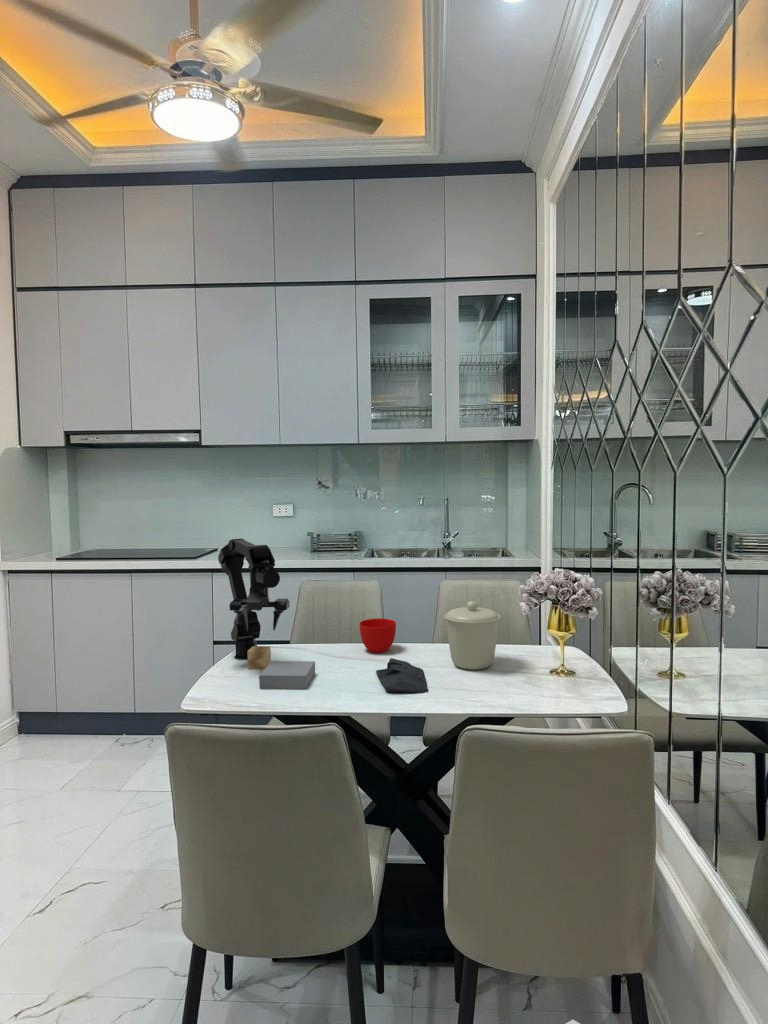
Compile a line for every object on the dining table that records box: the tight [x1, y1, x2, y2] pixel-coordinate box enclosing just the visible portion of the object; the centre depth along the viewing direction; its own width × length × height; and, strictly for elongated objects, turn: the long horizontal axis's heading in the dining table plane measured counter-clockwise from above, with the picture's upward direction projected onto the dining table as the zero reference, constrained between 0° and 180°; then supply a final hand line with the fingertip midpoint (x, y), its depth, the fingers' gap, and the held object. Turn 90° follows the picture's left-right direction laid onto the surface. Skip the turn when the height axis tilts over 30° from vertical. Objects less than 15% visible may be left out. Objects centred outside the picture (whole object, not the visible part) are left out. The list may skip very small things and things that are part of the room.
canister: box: [443, 600, 501, 671], centre depth 203 cm, size 18×18×21 cm
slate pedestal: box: [258, 660, 316, 690], centre depth 192 cm, size 14×14×4 cm
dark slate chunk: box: [375, 658, 429, 694], centre depth 190 cm, size 15×22×5 cm
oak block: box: [247, 645, 272, 670], centre depth 207 cm, size 6×6×6 cm
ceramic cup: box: [358, 618, 397, 654], centre depth 224 cm, size 13×17×10 cm
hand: (260, 630), depth 206 cm, fingers open, 9 cm apart
